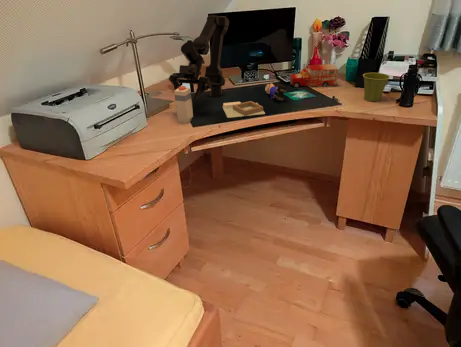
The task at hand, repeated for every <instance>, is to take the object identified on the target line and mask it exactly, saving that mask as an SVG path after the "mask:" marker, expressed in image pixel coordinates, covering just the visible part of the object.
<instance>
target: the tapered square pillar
mask: <svg viewBox="0 0 461 347" xmlns="http://www.w3.org/2000/svg"><path fill="white" fill-rule="evenodd" d="M173 93H174V102H175V110H176V116H177V122H178V123H184V124H189V123H190V122H191V121H192V118H193V117H194V113H193V112H194V111H193V101H192V91H191V88H190V87H186V86H184V85H182V86H180V87H178V89H176V90H175V89H174V91H173Z"/></svg>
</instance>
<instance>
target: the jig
mask: <svg viewBox="0 0 461 347" xmlns="http://www.w3.org/2000/svg"><path fill="white" fill-rule="evenodd" d="M222 109H223V111H224V113H225V116H226V118H228V119H229V118H238V117H247V116H249V117H250V116H256V115H265V114H266V113H265V111H264V106H262V105H260V104H259V103H258V102H254V101H252V100H249V101H245V102H240V104H236V105H233V108H226V109H224V107H223V105H222Z"/></svg>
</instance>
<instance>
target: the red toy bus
mask: <svg viewBox="0 0 461 347" xmlns="http://www.w3.org/2000/svg"><path fill="white" fill-rule="evenodd" d="M338 73H339V68H338V67H337V66H336V65H335V63H330V64H329V63H327V64H308V65H307V66H304V68H302V69H301V71H300V72H299V73H294V74H290V76H289V77H290V78H289V84H290V85H291V86H293V88H295V87H297V88H299V87H300V86H301V87H302V86H303V87H305V86H309V87H319V86H321V87H322V88H328V86H338V85H339V84H338V83H337V82H338Z"/></svg>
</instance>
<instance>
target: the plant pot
mask: <svg viewBox="0 0 461 347" xmlns="http://www.w3.org/2000/svg"><path fill="white" fill-rule="evenodd" d="M362 76H363V77H362V78H363V83H364V86H363V88H364V89H363V90H364V91H363V92H364V96H363V97H364V99H365V101H369V102H378V101H380V100H381V99H382V96H383V93H384V91H385V87H386V85H387V83H388V82H389V79H390V78H391V76H390V75H389V74H385V73H383V72H365V73H363V74H362Z"/></svg>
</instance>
